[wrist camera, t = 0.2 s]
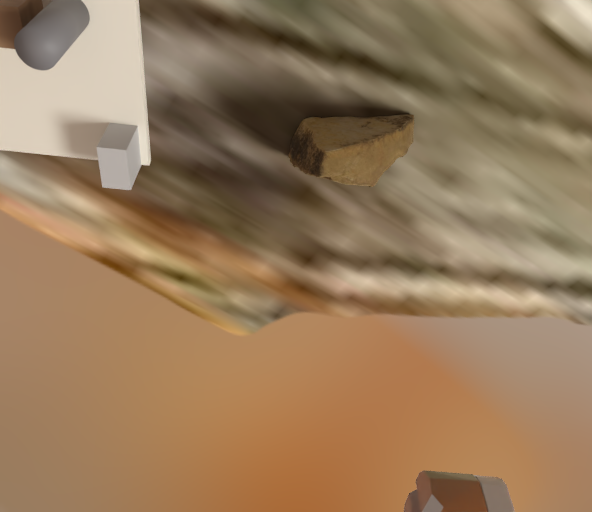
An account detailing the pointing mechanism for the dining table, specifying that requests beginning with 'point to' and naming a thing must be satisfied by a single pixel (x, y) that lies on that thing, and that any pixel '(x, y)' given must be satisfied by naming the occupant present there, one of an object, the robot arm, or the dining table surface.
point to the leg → (16, 18)
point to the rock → (350, 147)
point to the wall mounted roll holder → (79, 87)
